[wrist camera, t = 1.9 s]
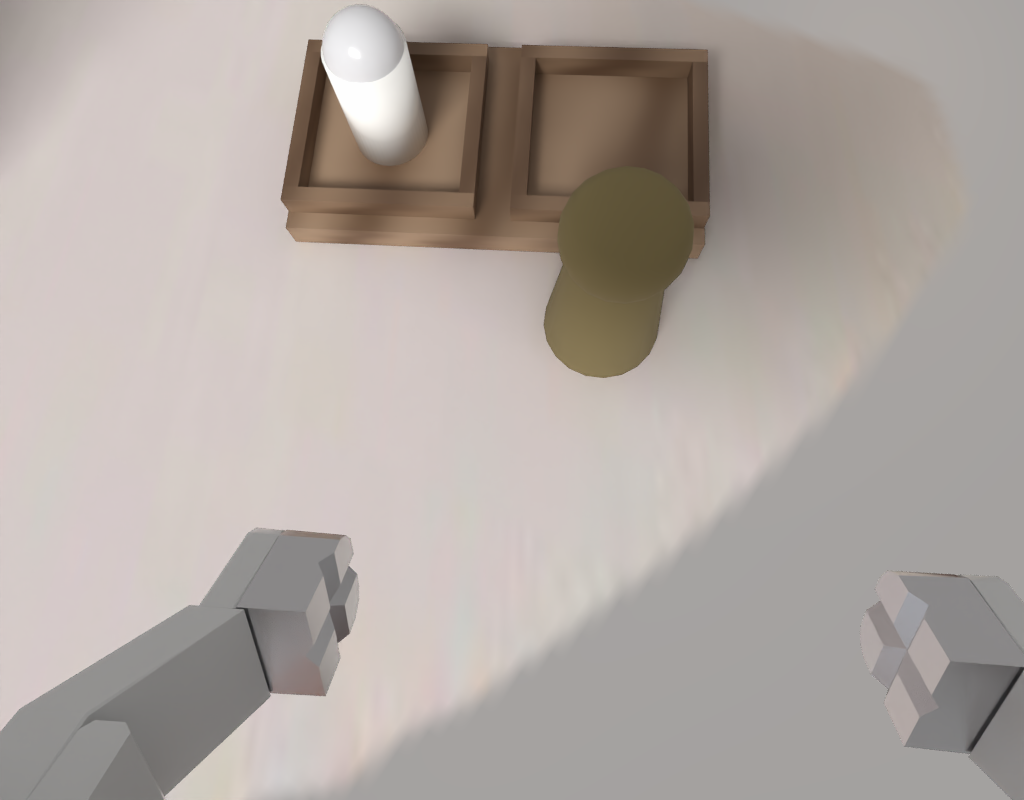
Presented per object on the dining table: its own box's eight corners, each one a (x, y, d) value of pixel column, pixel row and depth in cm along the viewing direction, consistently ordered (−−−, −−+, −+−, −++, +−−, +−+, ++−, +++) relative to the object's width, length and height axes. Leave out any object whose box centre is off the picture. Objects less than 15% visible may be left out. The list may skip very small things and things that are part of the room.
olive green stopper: (584, 251, 34) (606, 112, 24) (679, 309, 33) (747, 190, 23) (521, 337, 33) (514, 232, 23) (617, 400, 32) (658, 320, 21)
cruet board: (296, 241, 35) (276, 215, 32) (325, 62, 38) (310, 25, 35) (697, 258, 34) (711, 233, 31) (696, 72, 37) (708, 35, 34)
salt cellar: (352, 164, 34) (301, 54, 27) (361, 102, 35) (314, -20, 28) (424, 166, 34) (393, 57, 27) (431, 104, 35) (403, -18, 28)
